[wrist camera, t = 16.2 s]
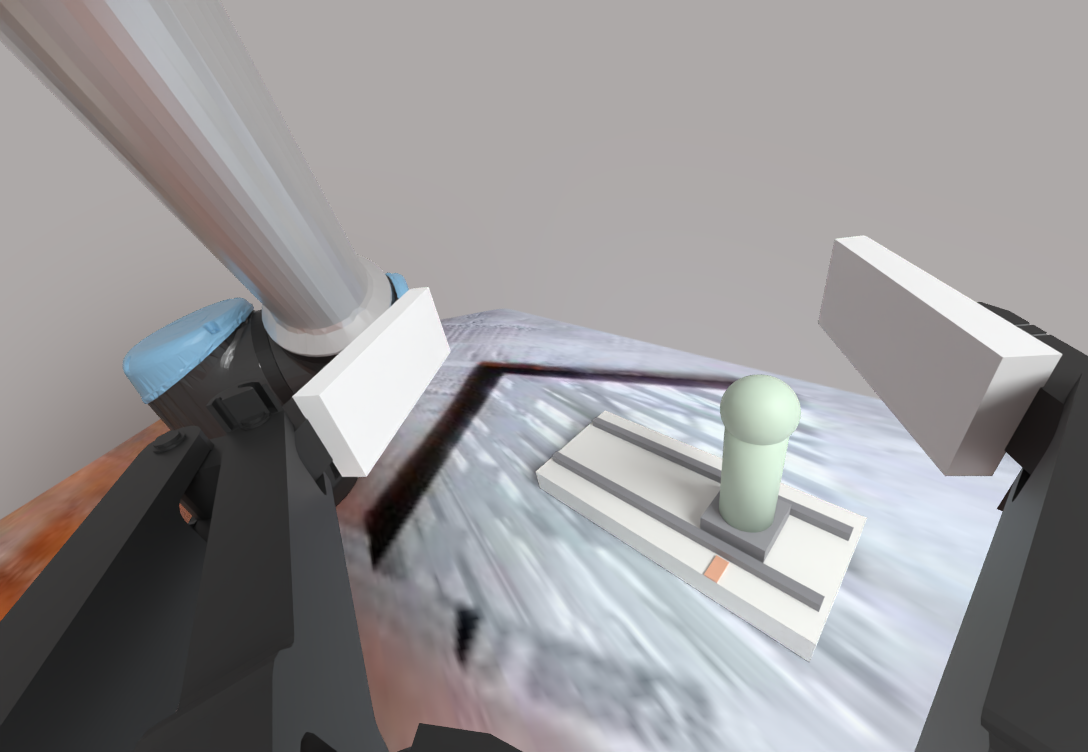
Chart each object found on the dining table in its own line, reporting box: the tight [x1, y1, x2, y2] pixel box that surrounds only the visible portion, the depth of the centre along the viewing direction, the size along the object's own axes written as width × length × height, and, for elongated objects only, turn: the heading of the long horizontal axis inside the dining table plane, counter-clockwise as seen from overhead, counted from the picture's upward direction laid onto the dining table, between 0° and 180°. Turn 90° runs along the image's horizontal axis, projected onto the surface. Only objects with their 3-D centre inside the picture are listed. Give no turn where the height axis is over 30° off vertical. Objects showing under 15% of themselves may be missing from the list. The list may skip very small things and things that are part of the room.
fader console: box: [536, 411, 867, 662], centre depth 39 cm, size 26×12×3 cm, turn 46°
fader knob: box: [700, 375, 801, 563], centre depth 30 cm, size 5×5×14 cm
